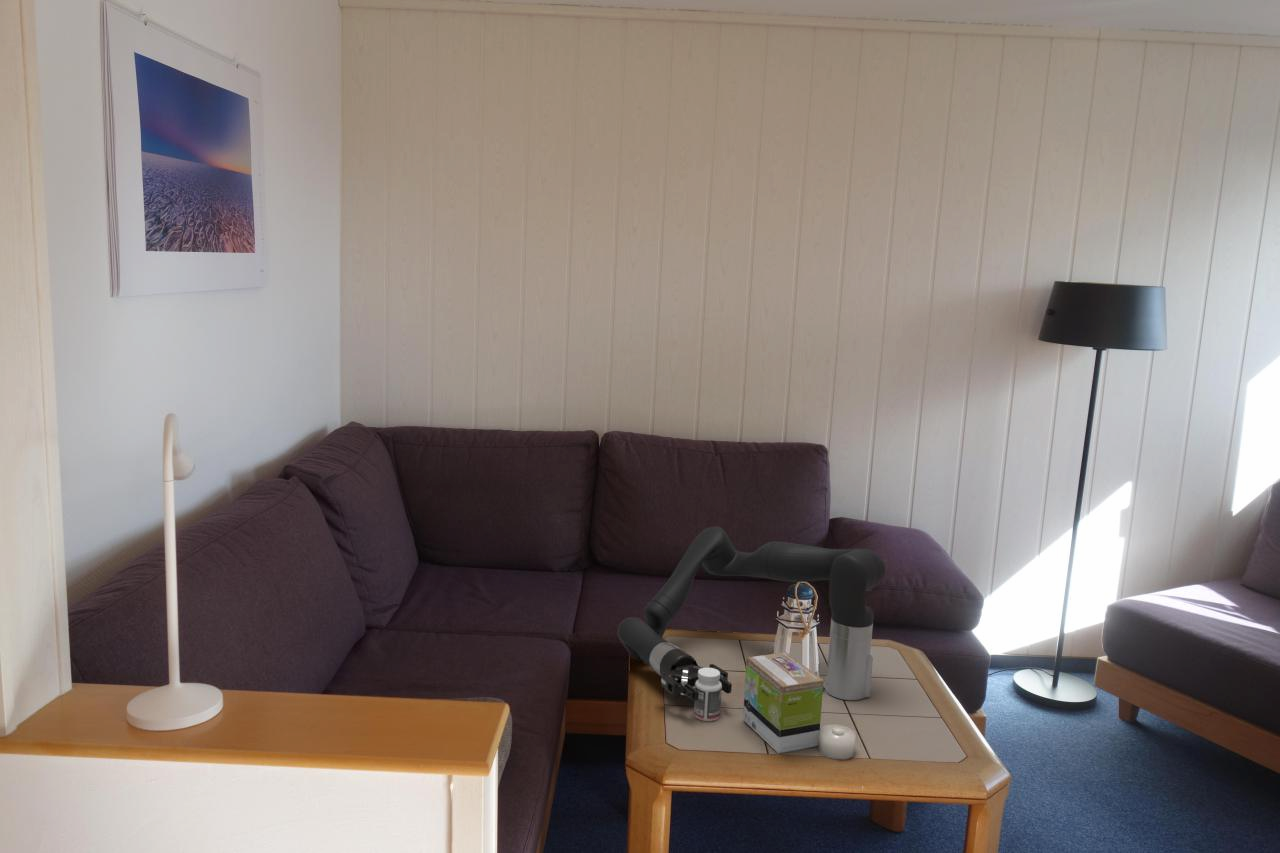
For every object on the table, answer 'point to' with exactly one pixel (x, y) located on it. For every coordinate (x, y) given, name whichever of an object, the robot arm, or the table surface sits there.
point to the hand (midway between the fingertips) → (713, 692)
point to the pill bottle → (708, 695)
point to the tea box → (783, 701)
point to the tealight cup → (837, 741)
